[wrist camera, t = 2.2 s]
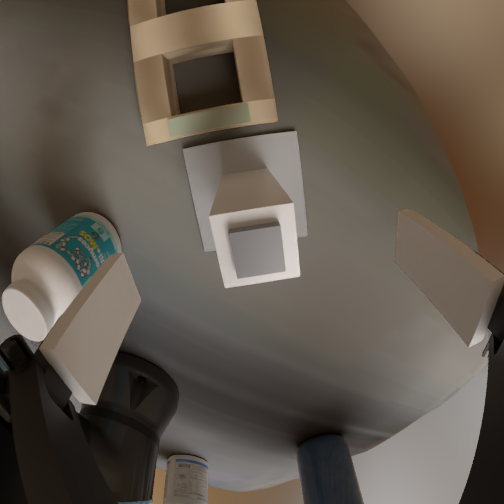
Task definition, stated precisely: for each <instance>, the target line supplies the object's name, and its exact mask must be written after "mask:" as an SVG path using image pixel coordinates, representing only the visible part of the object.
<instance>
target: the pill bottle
mask: <svg viewBox="0 0 504 504" xmlns="http://www.w3.org/2000/svg"><path fill="white" fill-rule="evenodd" d="M117 253H121V242H120V238H119V236H118V234H117V231H116V230H115V228H114V227H113V225H112V224H111V223H110V222H109V221H108V220H107V219H106V218H104V217H103V216H101V215H99V214H96V213H93V212H82V213H79V214H76V215H75V216H73V217H71V218H70V219H68V220H66V221H65V222H63V223H62V224H60V225H59V226H57V227H56V228H54V229H53V230H51V231H50V232H49V233H47V234H46V235H44V236H43V237H41V238H40V239H39V240H37V241H36V242H35V243H33V244H32V245H30V246H29V247H28V248H26V249H25V250H24V251H23V252H21V253H20V254H19V255H18V257H17V258H16V260H15V262H14V264H13V268H12V275H11V279H12V283H11V284H10V285H9V286H8V287H7V288H6V289H5V290H4V292H3V294H2V305H3V309H4V312H5V314H6V316H7V318H8V320H9V321H10V323H11V324H12V325H13V327H14V328H15V329H16V330H17V331H18V332H19V333H20V334H21V335H23V336H24V337H26V338H28V339H30V340H32V341H37V342H38V341H42V340H44V338H45V337H46V336H47V334H48V333H49V331H50V330H51V328H52V327H53V326H54V324H55V323H56V321H57V320H58V319H59V317H60V316H61V315H62V314H63V313H64V312H65V310H66V309H67V308H68V306H69V305H70V304H71V302H72V301H73V300H74V298H75V297H76V296H77V295H78V293H79V292H80V291H81V290H82V288H83V287H84V286H85V284H86V283H87V282H88V281H89V280H90V278H91V277H92V276H93V275H94V273H95V272H96V271H97V270H98V269H99V267H100V266H101V265H102V264H103V263H104V262H105V260H106V259H107V258H108V257H109V256H110V255H112V254H117Z"/></svg>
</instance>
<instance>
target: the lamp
mask: <svg viewBox="0 0 504 504" xmlns="http://www.w3.org/2000/svg"><path fill="white" fill-rule="evenodd" d="M297 463H298V469H299V476H300V482H301V488H302V494H303V501H304V504H364V503H363V499H362V495H361V491H360V488H359V484H358V480H357V476H356V473H355V470H354V466H353V462H352V458H351V455H350V451H349V448H348V445H347V443H346V441H345V439H344V438H343V437H341V436H339V435H336V434H324V435H319V436H315V437H313V438H310V439H308V440H306V441H305V442H303V443H302V444H301V445H300V447H299V448H298V450H297Z"/></svg>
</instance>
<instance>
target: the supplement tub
mask: <svg viewBox="0 0 504 504" xmlns="http://www.w3.org/2000/svg"><path fill="white" fill-rule="evenodd" d="M163 504H208V463H207V462H206V461H205V460H203V459H201V458H199V457H196V456H191V455H173V456H171V457H169V458H168V461H167V470H166V479H165V488H164V498H163Z"/></svg>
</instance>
